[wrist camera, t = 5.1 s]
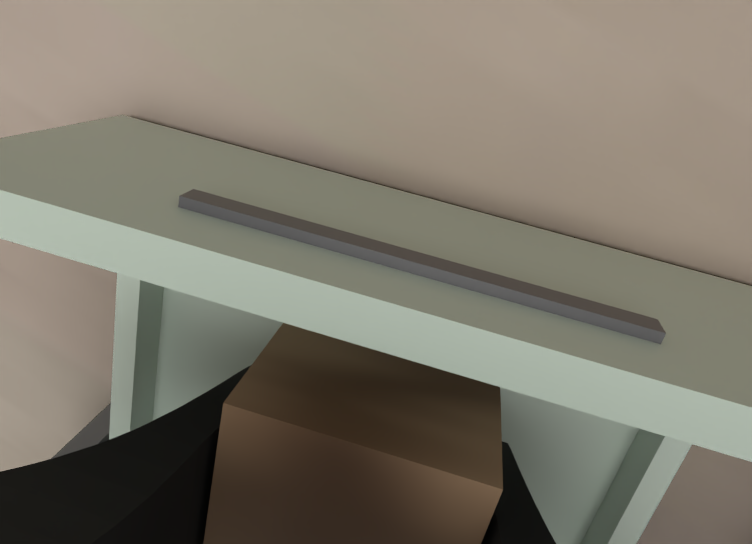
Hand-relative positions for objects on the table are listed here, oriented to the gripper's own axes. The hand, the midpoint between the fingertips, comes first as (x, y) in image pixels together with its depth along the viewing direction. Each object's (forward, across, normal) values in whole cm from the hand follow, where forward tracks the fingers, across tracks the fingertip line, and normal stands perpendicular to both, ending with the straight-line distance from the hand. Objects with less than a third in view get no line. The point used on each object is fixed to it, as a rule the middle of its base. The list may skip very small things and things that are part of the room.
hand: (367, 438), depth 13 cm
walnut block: (+1, 0, 0) cm, 1 cm away
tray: (+3, 0, +1) cm, 3 cm away
